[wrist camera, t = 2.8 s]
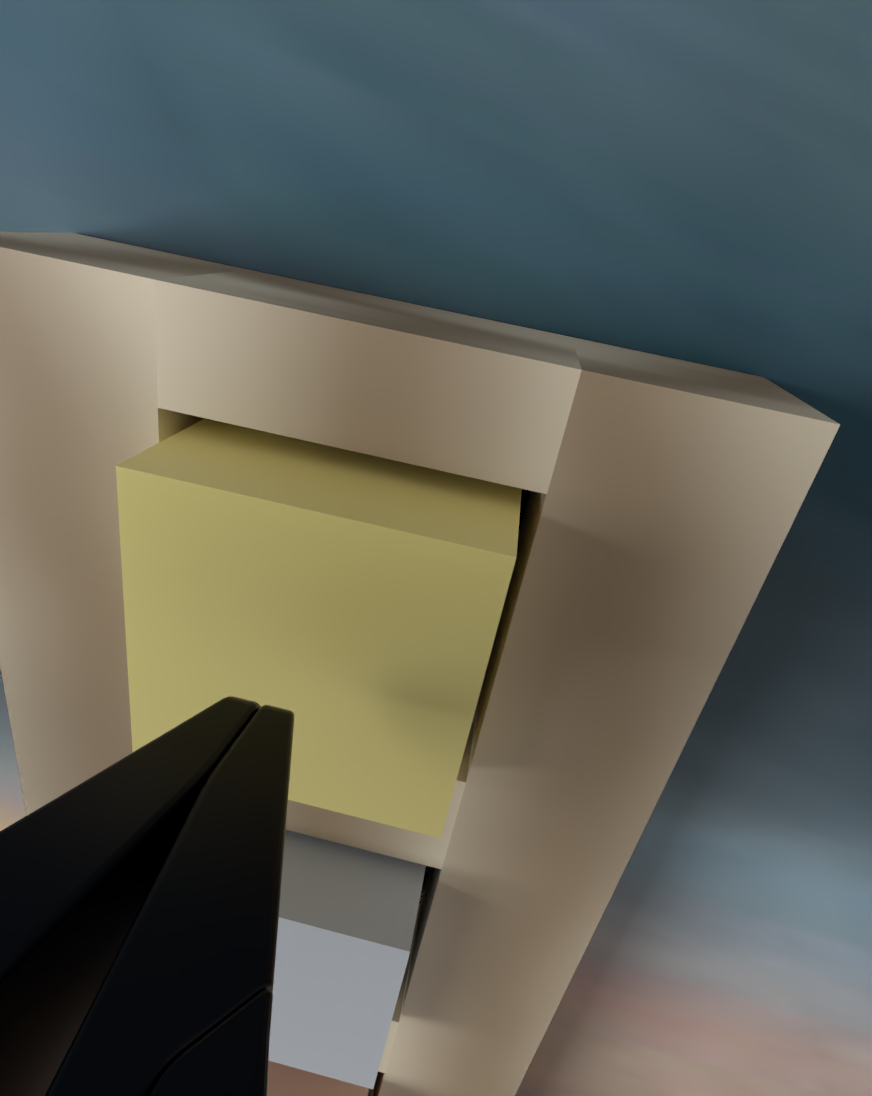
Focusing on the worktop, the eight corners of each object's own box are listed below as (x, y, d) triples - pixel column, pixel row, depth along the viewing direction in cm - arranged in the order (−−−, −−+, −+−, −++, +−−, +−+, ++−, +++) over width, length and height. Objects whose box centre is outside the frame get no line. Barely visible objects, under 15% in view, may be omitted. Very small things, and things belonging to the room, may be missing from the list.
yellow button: (218, 650, 13) (133, 761, 10) (225, 407, 10) (115, 465, 8) (461, 710, 12) (440, 837, 10) (523, 474, 10) (516, 557, 7)
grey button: (212, 898, 16) (148, 1027, 14) (216, 758, 14) (140, 880, 11) (400, 948, 16) (373, 1089, 13) (435, 813, 14) (409, 952, 11)
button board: (133, 1009, 22) (78, 1114, 20) (74, 233, 11) (-76, 230, 8) (464, 1100, 22) (453, 1221, 19) (763, 376, 10) (840, 424, 8)
